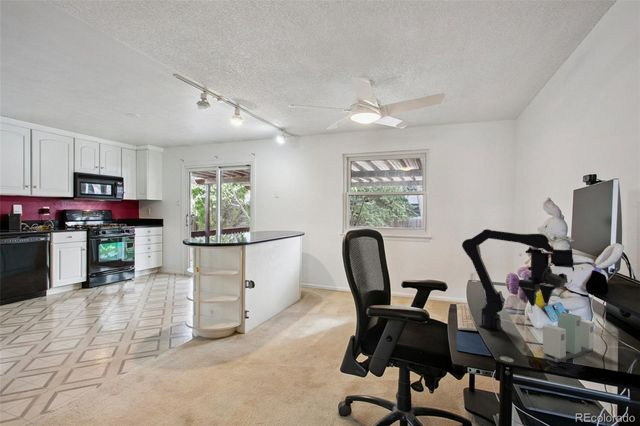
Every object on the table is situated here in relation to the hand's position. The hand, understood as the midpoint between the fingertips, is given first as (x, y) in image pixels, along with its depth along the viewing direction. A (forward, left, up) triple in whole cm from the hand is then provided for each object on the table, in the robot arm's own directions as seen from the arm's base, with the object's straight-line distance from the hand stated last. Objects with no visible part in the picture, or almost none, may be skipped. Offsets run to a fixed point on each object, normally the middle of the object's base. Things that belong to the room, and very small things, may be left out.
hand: (539, 304), depth 120 cm
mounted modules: (+13, -7, -12) cm, 19 cm away
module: (+13, -7, -12) cm, 19 cm away
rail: (+13, -7, -13) cm, 19 cm away
